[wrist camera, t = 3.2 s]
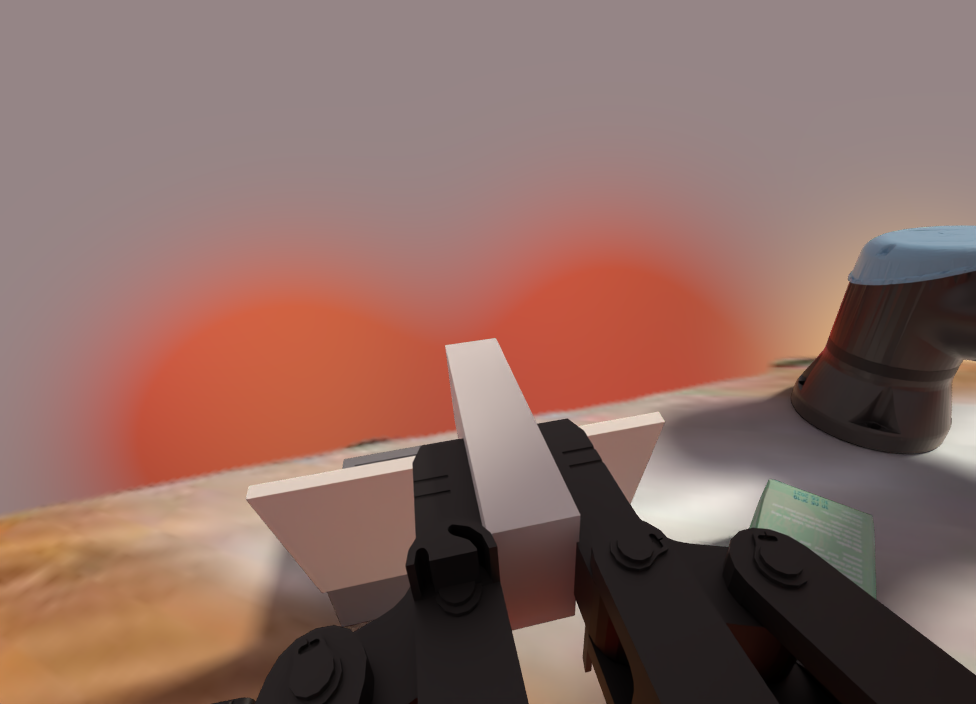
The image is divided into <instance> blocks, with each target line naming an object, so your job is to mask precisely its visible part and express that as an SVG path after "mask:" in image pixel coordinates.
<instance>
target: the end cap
mask: <svg viewBox="0 0 976 704" xmlns="http://www.w3.org/2000/svg"><path fill="white" fill-rule="evenodd" d="M213 704H255V700H253V699H251V698H238V699H233V700H228V701H223V702H218V703H213Z"/></svg>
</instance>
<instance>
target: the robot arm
mask: <svg viewBox="0 0 976 704" xmlns="http://www.w3.org/2000/svg"><path fill="white" fill-rule="evenodd" d="M848 281H850V282H849V285H848V287H847V290H846V293H845V295H844V298H843V301H842V303H841V306H840V309H839V311H838V314H837V317H836V319H835V322H834V325H833V327H832V330H831V332H830V336H829V338H828V341H827V344H826V347H825V348H824V350H823V351H822V352H821V353H820V354H819V356H818V357H817V358H816V359H815V360H814V361H813V362H812V363H811V365H810V366H809V367H808V368H807V369H806V370H805V371H804V372H803V374H802V375H801V376H800V377H799V378H798V379H797V381H796V383H795V386H794V389H793V392H792V395H791V401H792V404H793V406H794V408H795V409H796V411H797V412H798V413H799V414H800V415H801V416H802V417H803V418H804V419H805V420H807V421H808V422H809V423H811V424H812V425H814V426H815V427H817V428H819V429H820V430H822V431H824V432H826V433H828V434H830V435H832V436H834V437H837V438H839V439H842V440H844V441H847V442H850V443H853V444H856V445H859V446H862V447H866V448H870V449H874V450H879V451H885V452H892V453H905V454H912V453H923V452H928V451H931V450H934V449H936V448H937V447H939V446H940V445H941V444H942V442H943V441H944V439H945V437H946V435H947V434H948V432H949V430H950V428H951V424H952V418H951V413H952V380H953V378H954V376H955V374H956V372H957V370H958V368H959V366H960V364H961V363H962V362H963V360H972V361H976V226H935V227H921V228H911V229H904V230H898V231H893V232H889V233H885V234H882V235H880V236H878V237H875V238H873V239H872V240H870V241H869V242H868V243H867V244H866V245H865V246H864V247H863V249H862V250H861V253H860V255H859V257H858V260H857V262H856V265H855V267H854V269H853V271H852V272H851V273H850V274H849V276H848ZM445 348H446V355H447V363H448V371H449V379H450V387H451V394H452V402H453V409H454V418H455V423H456V429H457V434H458V439H456V440H451V441H445V442H439V443H434V444H428V445H422V446H420V448H419V450H418V452H417V454H416V456H415V459H414V461H413V463H412V466H413V483H414V485H413V489H414V511H415V534H416V539H415V540H414V542H413V543H412V545H411V546H410V548H409V550H408V554H407V560H406V565H405V567H406V571H407V575H408V579H409V583H410V588H409V589H408V591H407V592H406V594H405V596H404V597H403V598H402V599H401V600H400V601H399V602H398V603H397V604H396V605H395V606H394V607H393V608H392V609H390V610H389V611H388V612H386V613H385V614H383V615H382V616H380V617H379V618H377V619H375V620H373V621H372V622H370V623H368V624H366V625H365V626H363V627H361V628H360V629H358V630H356V631H354V632H352V631H351V630H350V629H347V628H343V627H339V626H335V625H332V626H327V627H322V628H316V629H314V630H312V631H310V632H309V633H307V634H305V635H303V636H301V637H300V638H298V639H296V640H295V641H294V642H293V643H292V644H291V645H290V646H289V647H288V648H287V649H286V650H285V651H284V652H283V653H282V654H281V655H280V656H279V658H278V659H277V661H276V663H275V664H274V666H273V668H272V669H271V671H270V672H269V674H268V676H267V677H266V680H265V682H264V684H263V686H262V689H261V691H260V693H259V695H258V698H257V700H256V702H255V704H529V703H528V699H527V694H526V690H525V686H524V681H523V677H522V673H521V668H520V664H519V660H518V656H517V651H516V647H515V643H514V638H513V634H512V630H516V629H520V628H524V627H529V626H533V625H537V624H541V623H545V622H549V621H553V620H557V619H561V618H566V617H570V616H574V615H575V603H576V601H577V604H578V607H579V609H580V612H581V614H582V617H583V620H584V622H585V636H584V649H583V662H584V668H585V673H586V672H589V671H591V667H592V665H593V667H594V670H595V673H596V675H597V678H598V681H599V684H600V686H601V689H602V692H603V695H604V697H605V700H606V703H607V704H976V675H975V674H973V673H972V672H971V671H969V670H968V669H967V668H966V667H964V666H963V665H962V664H960V663H959V662H958V661H956V660H955V659H954V658H952V657H951V656H950V655H948V654H947V653H946V652H945V651H943V650H942V649H941V648H939V647H938V646H937V645H935V644H934V643H933V642H931V641H930V640H929V639H927V638H926V637H925V636H924V635H922V634H921V633H920V632H918V631H917V630H916V629H914V628H913V627H912V626H910V625H909V624H908V623H906V622H905V621H904V620H903V619H901V618H900V617H899V616H897V615H896V614H895V613H893V612H892V611H891V610H889V609H888V608H887V607H885V606H884V605H883V604H881V603H880V602H879V601H878V600H876V599H875V598H874V597H872V596H871V595H870V594H868V593H867V592H866V591H864V590H863V589H862V588H860V587H859V586H858V585H857V584H855V583H854V582H853V581H851V580H850V579H849V578H847V577H846V576H845V575H843V574H842V573H841V572H839V571H838V570H837V569H836V568H834V567H833V566H832V565H830V564H829V563H828V562H826V561H825V560H824V559H822V558H821V557H820V556H818V555H817V554H816V553H814V552H813V551H812V550H811V549H809V548H808V547H807V546H805V545H803V544H802V543H800V542H798V541H797V540H795V539H793V538H792V537H790V536H788V535H785V534H783V533H780V532H777V531H774V530H771V529H763V528H749V529H746V530H742V531H739V532H738V533H737V534H736V535H735V536H734V537H733V538H732V539H731V541H730V544H729V547H720V546H709V545H698V544H689V543H683V542H678V541H674V540H672V539H669V538H667V537H666V536H665V535H664V534H663V533H662V531H661V530H659V529H657V528H656V527H654V526H652V525H651V524H649V523H647V522H645V521H642V520H641V519H640V518H639V517H638V515H637V514H636V513H635V511H634V510H633V508H632V506H631V505H630V503H629V502H628V500H627V498H626V497H625V495H624V494H623V492H622V490H621V489H620V487H619V486H618V484H617V482H616V481H615V479H614V478H613V476H612V475H611V473H610V471H609V470H608V468H607V467H606V465H605V463H603V462H602V459H601V457H600V455H599V454H598V452H597V451H596V449H594V446H593V444H592V443H591V441H590V439H589V438H588V436H587V435H586V433H585V431H584V430H583V429H581V428H580V427H578V426H577V425H576V424H574V423H573V422H571V421H570V420H569V419H562V420H557V421H551V422H545V423H539V424H537V423H536V421H535V419H534V417H533V415H532V413H531V411H530V409H529V407H528V404H527V403H526V400H525V398H524V396H523V394H522V392H521V390H520V388H519V386H518V384H517V381H516V379H515V377H514V375H513V373H512V371H511V369H510V367H509V365H508V363H507V361H506V359H505V356H504V354H503V353H502V350H501V348H500V346H499V344H498V342H497V340H496V338H493V339H487V340H479V341H473V342H465V343H459V344H453V345H446V346H445Z"/></svg>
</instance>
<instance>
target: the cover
mask: <svg viewBox="0 0 976 704" xmlns="http://www.w3.org/2000/svg"><path fill="white" fill-rule="evenodd" d="M664 423H665V421H664V419H663V418H662V416H661V415H660V413H659V412H654V413H648V414H643V415H637V416H632V417H626V418H621V419H615V420H610V421H604V422H599V423H593V424H588V425H582V426H578V427H580V428H581V429H583V430H584V431H585V433H586V435H587V436H588V438H589V439H590V441H591V443H592V444H593V446H594V449H596V451H597V452H598V454H599V455H600V457H601V459H602V462H603V463H605V465H606V467H607V468H608V470H609V471H610V473H611V475H612V476H613V478H614V479H615V481H616V482H617V484H618V486H619V487H620V489H621V490H622V492H623V494H624V495H625V497H626V498H627V500H628V502H629V503H630V504H631V502H632V499H633V497H634V494H635V492H636V490H637V487H638V485H639V483H640V480H641V478H642V475H643V473H644V471H645V468H646V466H647V464H648V461H649V459H650V456H651V454H652V452H653V449H654V447H655V445H656V442H657V440H658V437H659V435H660V433H661V430H662V428H663V426H664ZM414 459H415V456H411V457H406V458H400V459H395V460H389V461H384V462H378V463H373V464H367V465H362V466H356V467H351V468H345V469H340V470H334V471H328V472H323V473H317V474H312V475H306V476H301V477H295V478H290V479H284V480H279V481H273V482H268V483H262V484H257V485H251V486H249V488H248V492H247V496H246V500H247V502H248V503H249V504H250V505H251V507H252V508H253V509H254V510H255V511H256V513H257V514H258V515H259V516H260V518H261V519H262V520H263V521H264V522H265V524H266V525H267V526H268V527H269V529H270V530H271V531H272V532H273V533H274V535H275V536H276V537H277V538H278V540H279V541H280V542H281V543H282V545H283V546H284V547H285V548H286V549H287V551H288V552H289V553H290V554H291V556H292V557H293V558H294V559H295V560H296V562H297V563H298V564H299V565H300V567H301V568H302V569H303V570H304V571H305V573H306V574H307V575H308V576H309V578H310V579H311V580H312V581H313V582H314V584H315V585H316V586H317V587H318V589H319V590H320V591H321V592H322V593H324V592H328V591H333V590H337V589H342V588H346V587H351V586H356V585H360V584H365V583H369V582H374V581H378V580H383V579H388V578H392V577H397V576H401V575H406V574H407V571H406V567H405V565H406V560H407V554H408V550H409V548H410V546H411V545H412V543H413V542H414V540H415V539H416V534H415V511H414V489H413V485H414V483H413V466H412V463H413V461H414Z"/></svg>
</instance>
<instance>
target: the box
mask: <svg viewBox="0 0 976 704" xmlns="http://www.w3.org/2000/svg"><path fill="white" fill-rule="evenodd" d="M749 528H763V529H771V530H774V531H777V532H780V533H783V534H785V535H788V536H790V537H792V538H793V539H795V540H797V541H798V542H800V543H802V544H803V545H805V546H807V547H808V548H809V549H811V550H812V551H813V552H814V553H816V554H817V555H818V556H820V557H821V558H822V559H824V560H825V561H826V562H828V563H829V564H830V565H832V566H833V567H834V568H836V569H837V570H838V571H839V572H841V573H842V574H843V575H845V576H846V577H847V578H849V579H850V580H851V581H853V582H854V583H855V584H857V585H858V586H859V587H860V588H862V589H863V590H864V591H866V592H867V593H868V594H870V595H871V596H872V597H874V598H875V599H876V572H875V536H874V524H873V518H872V515H870V514H867V513H864V512H861V511H859V510H856V509H853V508H850V507H848V506H845V505H842V504H839V503H837V502H834V501H831V500H828V499H826V498H823V497H820V496H817V495H815V494H812V493H809V492H807V491H804V490H801V489H798V488H796V487H793V486H790V485H787V484H785V483H782V482H779V481H777V480H773V479H769V480H768V483H767V485H766V487H765V489H764V491H763V493H762V496H761V498H760V500H759V503H758V506H757V508H756V511H755V513H754V516H753V519H752V522H751V525H750V527H749Z"/></svg>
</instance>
